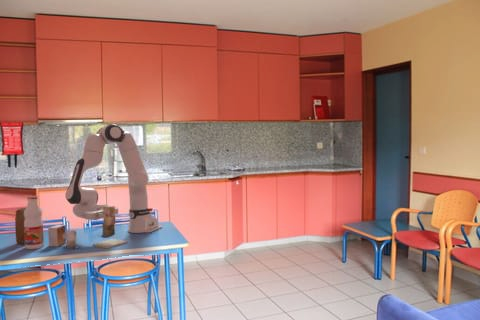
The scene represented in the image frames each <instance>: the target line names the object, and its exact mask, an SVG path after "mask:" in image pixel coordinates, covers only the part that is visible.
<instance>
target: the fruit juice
mask: <svg viewBox="0 0 480 320" xmlns="http://www.w3.org/2000/svg"><path fill="white" fill-rule="evenodd" d="M25 208H26V209H25V210H24V217H25V220H24V239H25V244H24V248H25V249H26V250H35V249H37V250H38V249H41V248H43V247H44V246H45V242H44V241H45V240H44V239H45V237H44V236H45V235H44V220H43V217H42V215H43V210H42V208H41V207H40V204H39V203H38V196H37V195H32V196H27V204H26V207H25Z"/></svg>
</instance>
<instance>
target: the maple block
mask: <svg viewBox="0 0 480 320" xmlns="http://www.w3.org/2000/svg"><path fill="white" fill-rule="evenodd" d="M115 207H116V206H114V205H108V206H104V207H103V214H104V213H106V214H107V217H102V218H103V223H104V225H113V224H114V225H116V215H115Z"/></svg>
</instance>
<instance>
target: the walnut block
mask: <svg viewBox="0 0 480 320" xmlns="http://www.w3.org/2000/svg"><path fill="white" fill-rule="evenodd" d="M101 226H102V235H105V236H111V235H114V234H115V231H116V230H115V224H113V225H104V222H103V223H102V225H101Z"/></svg>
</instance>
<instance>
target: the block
mask: <svg viewBox="0 0 480 320" xmlns="http://www.w3.org/2000/svg"><path fill="white" fill-rule="evenodd" d="M25 209H26V207H20V208H18V209H17V210H16V211H15V218H14V219H15V220H14V222H15V223H14V226H15V241H16V242H15V243H16V244H17V245H23V246H24V245H25V239H24V220H25V217H24V210H25Z"/></svg>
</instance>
